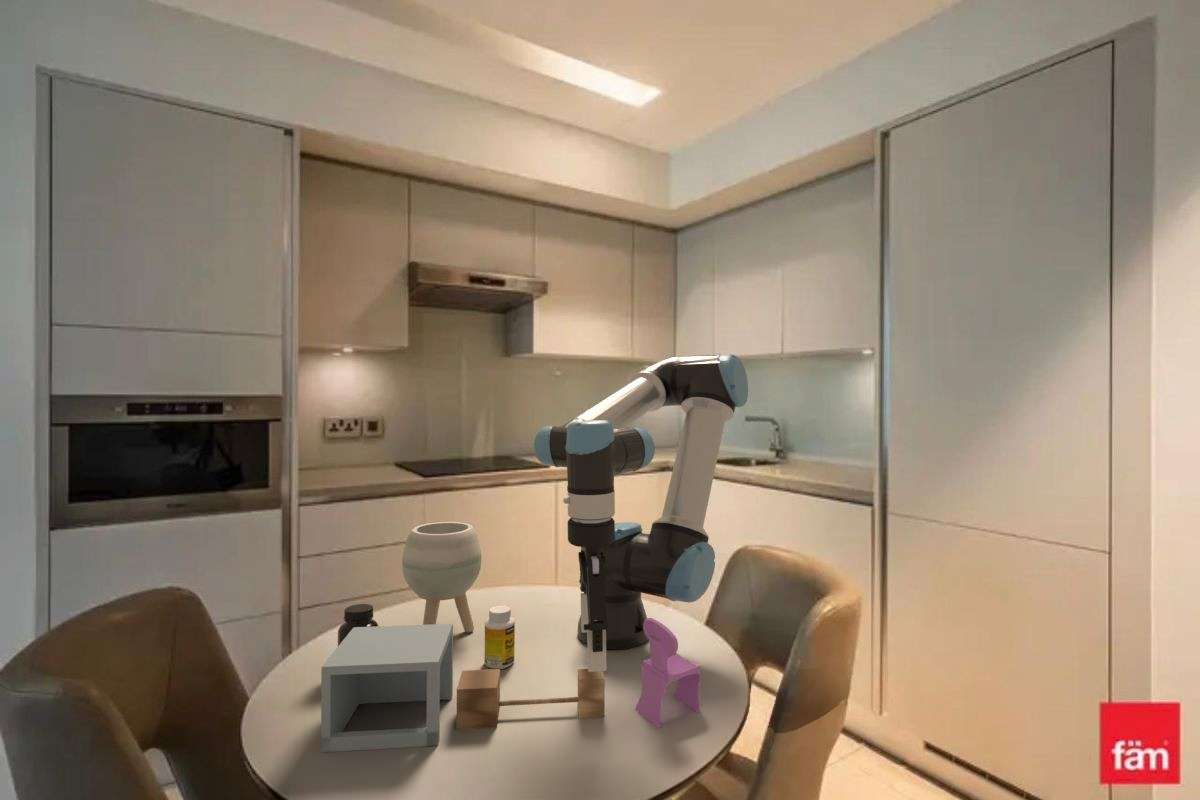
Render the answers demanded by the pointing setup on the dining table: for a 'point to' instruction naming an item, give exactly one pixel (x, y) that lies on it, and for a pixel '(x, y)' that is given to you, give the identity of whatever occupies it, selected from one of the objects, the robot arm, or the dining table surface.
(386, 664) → the shelf cubby
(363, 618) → the supplement bottle
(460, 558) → the planter
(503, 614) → the supplement bottle
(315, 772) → the dining table surface
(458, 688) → the tethered block
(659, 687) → the toy chair
